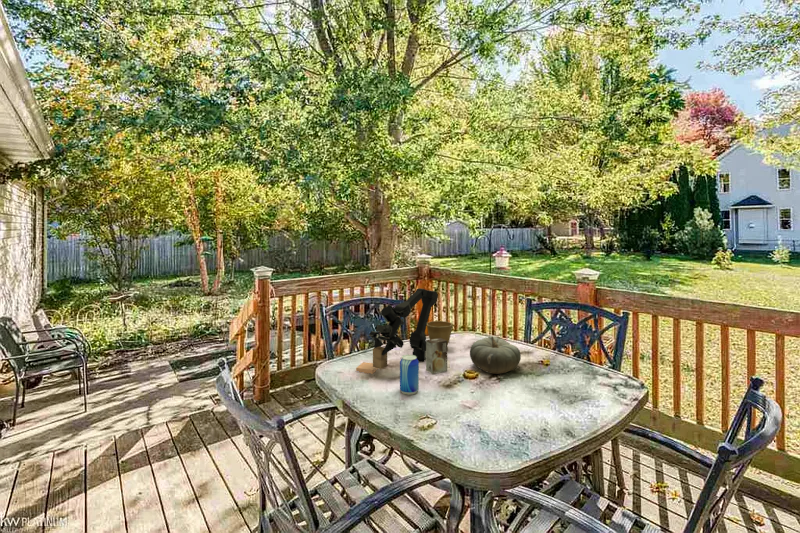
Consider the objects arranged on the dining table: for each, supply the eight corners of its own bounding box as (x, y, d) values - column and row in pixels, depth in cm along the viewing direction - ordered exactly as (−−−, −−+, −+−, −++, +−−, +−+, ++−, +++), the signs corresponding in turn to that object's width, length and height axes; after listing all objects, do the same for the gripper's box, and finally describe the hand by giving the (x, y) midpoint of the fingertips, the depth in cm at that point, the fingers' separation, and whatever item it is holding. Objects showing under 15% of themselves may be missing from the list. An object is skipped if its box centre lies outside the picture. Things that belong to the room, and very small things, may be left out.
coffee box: (440, 367, 217) (441, 337, 215) (447, 371, 211) (447, 340, 209) (425, 370, 212) (425, 339, 211) (432, 374, 207) (432, 343, 205)
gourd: (487, 352, 233) (491, 323, 228) (527, 370, 216) (532, 340, 211) (460, 367, 216) (463, 337, 211) (501, 388, 199) (505, 356, 194)
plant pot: (456, 348, 247) (456, 322, 245) (444, 355, 235) (445, 328, 233) (433, 344, 255) (434, 319, 253) (422, 351, 243) (422, 324, 241)
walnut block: (379, 363, 207) (379, 346, 206) (387, 366, 204) (387, 348, 202) (372, 366, 203) (372, 348, 202) (380, 368, 200) (380, 350, 199)
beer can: (412, 397, 180) (412, 361, 179) (396, 392, 185) (396, 358, 183) (421, 390, 188) (422, 356, 186) (406, 386, 192) (406, 352, 190)
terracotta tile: (379, 368, 216) (379, 364, 216) (372, 374, 207) (372, 370, 207) (363, 366, 219) (363, 362, 219) (356, 372, 210) (356, 367, 210)
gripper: (371, 315, 209) (355, 341, 202) (399, 321, 198) (384, 349, 190) (381, 327, 216) (367, 353, 209) (410, 333, 205) (395, 361, 197)
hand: (378, 353), depth 201 cm, fingers closed on walnut block, 5 cm apart
